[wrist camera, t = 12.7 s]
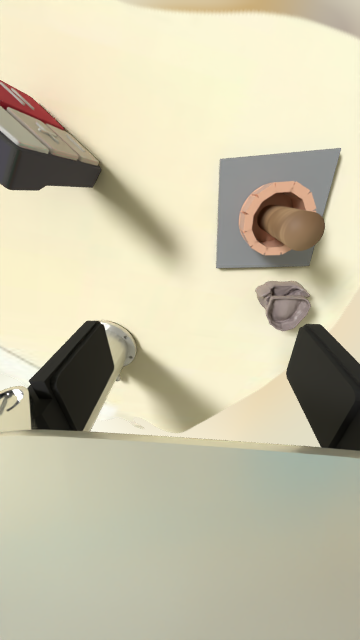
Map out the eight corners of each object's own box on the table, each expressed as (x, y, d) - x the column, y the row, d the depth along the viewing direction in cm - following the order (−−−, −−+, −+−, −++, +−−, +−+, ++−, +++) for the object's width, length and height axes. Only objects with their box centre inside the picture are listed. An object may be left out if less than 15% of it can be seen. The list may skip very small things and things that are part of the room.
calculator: (105, 164, 28) (22, 141, 16) (91, 191, 30) (8, 191, 18) (30, 92, 25) (-147, -8, 13) (20, 128, 27) (-142, 72, 15)
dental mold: (248, 311, 38) (252, 326, 34) (259, 276, 34) (267, 287, 30) (291, 318, 37) (302, 334, 33) (308, 283, 34) (322, 295, 30)
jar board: (306, 264, 32) (323, 276, 27) (216, 266, 34) (217, 278, 29) (336, 149, 25) (367, 139, 20) (219, 160, 27) (222, 153, 22)
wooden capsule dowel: (279, 230, 29) (318, 250, 19) (255, 231, 29) (281, 251, 19) (284, 203, 27) (330, 210, 17) (258, 205, 27) (288, 212, 17)
